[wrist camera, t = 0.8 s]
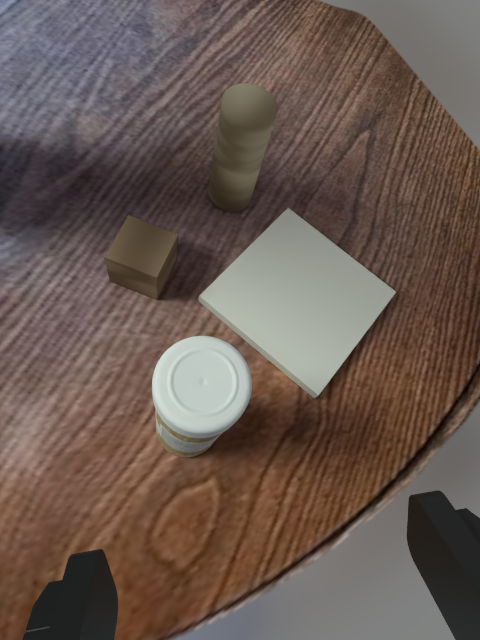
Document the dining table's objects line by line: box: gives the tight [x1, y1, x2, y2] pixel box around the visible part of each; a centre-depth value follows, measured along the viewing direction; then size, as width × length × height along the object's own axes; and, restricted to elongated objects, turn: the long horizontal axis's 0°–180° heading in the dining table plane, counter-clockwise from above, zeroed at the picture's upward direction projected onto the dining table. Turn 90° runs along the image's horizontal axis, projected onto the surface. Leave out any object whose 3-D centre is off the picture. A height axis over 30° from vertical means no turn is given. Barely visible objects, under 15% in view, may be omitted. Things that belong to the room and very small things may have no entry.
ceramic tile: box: [198, 208, 396, 398], centre depth 37 cm, size 12×12×1 cm
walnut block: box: [105, 215, 178, 300], centre depth 34 cm, size 4×4×4 cm
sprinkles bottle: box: [152, 336, 252, 457], centre depth 26 cm, size 5×5×13 cm
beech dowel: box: [208, 83, 278, 212], centre depth 36 cm, size 4×4×10 cm
